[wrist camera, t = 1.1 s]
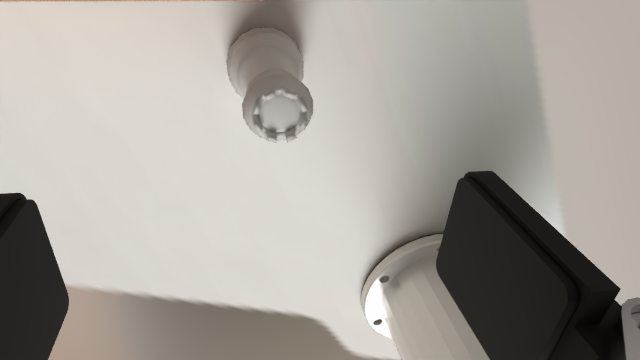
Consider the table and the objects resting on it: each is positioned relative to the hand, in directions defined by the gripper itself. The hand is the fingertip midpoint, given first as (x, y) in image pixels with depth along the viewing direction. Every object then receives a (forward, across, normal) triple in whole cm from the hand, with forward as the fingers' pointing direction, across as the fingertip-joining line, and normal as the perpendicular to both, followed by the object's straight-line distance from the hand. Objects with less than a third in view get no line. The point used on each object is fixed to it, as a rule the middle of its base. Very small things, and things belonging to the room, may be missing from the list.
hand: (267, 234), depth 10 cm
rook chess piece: (+18, -1, +1) cm, 18 cm away
